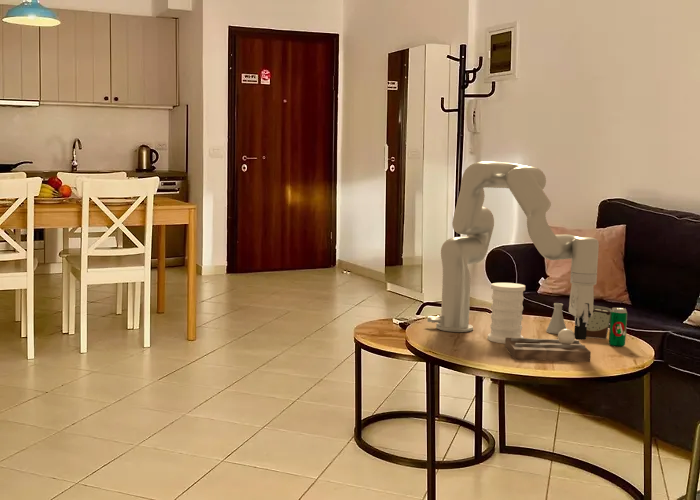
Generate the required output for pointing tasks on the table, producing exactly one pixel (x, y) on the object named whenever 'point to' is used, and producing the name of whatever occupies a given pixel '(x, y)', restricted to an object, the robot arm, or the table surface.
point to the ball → (566, 336)
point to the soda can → (618, 327)
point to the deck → (546, 350)
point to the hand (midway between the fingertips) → (580, 339)
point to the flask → (556, 320)
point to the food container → (598, 323)
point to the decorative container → (506, 311)
